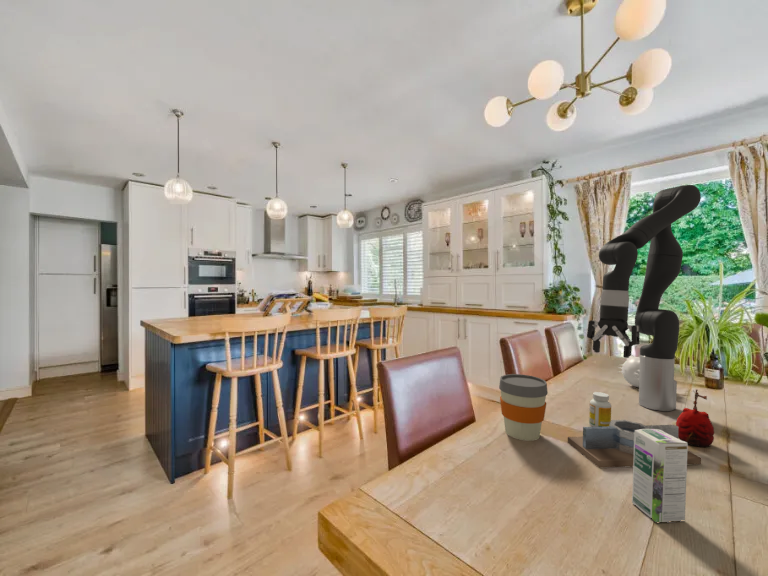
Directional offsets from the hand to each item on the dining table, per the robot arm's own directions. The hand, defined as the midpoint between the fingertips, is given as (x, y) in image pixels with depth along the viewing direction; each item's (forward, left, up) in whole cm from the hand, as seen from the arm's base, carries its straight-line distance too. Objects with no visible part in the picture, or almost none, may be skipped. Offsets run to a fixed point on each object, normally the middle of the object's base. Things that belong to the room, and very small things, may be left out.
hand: (610, 354), depth 109 cm
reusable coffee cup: (+35, +12, -19) cm, 42 cm away
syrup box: (+25, +45, -19) cm, 55 cm away
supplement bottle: (+10, +9, -19) cm, 24 cm away
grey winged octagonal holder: (+13, +24, -18) cm, 33 cm away
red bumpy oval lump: (-8, +20, -19) cm, 29 cm away
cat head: (-32, -25, -19) cm, 45 cm away
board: (+13, +24, -19) cm, 33 cm away
